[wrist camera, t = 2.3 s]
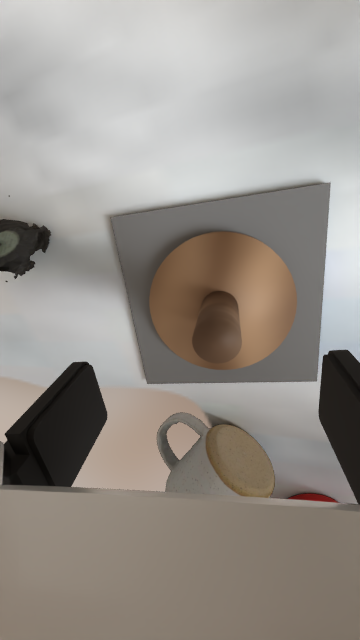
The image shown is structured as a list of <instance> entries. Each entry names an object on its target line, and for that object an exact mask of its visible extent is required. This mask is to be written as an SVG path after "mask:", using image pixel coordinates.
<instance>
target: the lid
mask: <svg viewBox="0 0 360 640" xmlns="http://www.w3.org/2000/svg"><path fill="white" fill-rule="evenodd" d="M149 306H150V313H151V317H152V321H153V324H154V326H155V329H156V331H157V333H158V334H159V336H160V338H161V339H162V340H163V342H164V343H165V344H166V345H167V346H168V347H169V348H170V350H172V351H173V352H174V353H175V354H176V355H178V356H179V357H181V358H182V359H184V360H186V361H188V362H190V363H192V364H194V365H197V366H200V367H204V368H208V369H214V370H232V369H238V368H243V367H246V366H249V365H252V364H254V363H256V362H259V361H260V360H262V359H264V358H265V357H267V356H268V355H270V354H271V353H272V352H273V351H275V350H276V349H277V348H278V347H279V346H280V345H281V343H282V342H283V341H284V339H285V338H286V336H287V335H288V333H289V331H290V329H291V327H292V324H293V322H294V319H295V315H296V308H297V293H296V288H295V283H294V280H293V278H292V275H291V273H290V271H289V269H288V267H287V266H286V264H285V263H284V262H283V260H282V259H281V258H280V257H279V256H278V255H277V254H276V253H275V252H274V251H273V250H272V249H271V248H270V247H268V246H267V245H266V244H264V243H263V242H261V241H259V240H257V239H256V238H254V237H251V236H248V235H245V234H242V233H237V232H229V231H218V232H210V233H205V234H202V235H199V236H196V237H193V238H192V239H190V240H188V241H186V242H184V243H183V244H181V245H180V246H178V247H177V248H176V249H174V250H173V251H172V252H171V253H170V254H169V255H168V256H167V257H166V258H165V260H164V261H163V262H162V263H161V265H160V267H159V268H158V270H157V272H156V274H155V276H154V279H153V282H152V285H151V289H150V297H149Z"/></svg>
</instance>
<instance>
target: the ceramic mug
mask: <svg viewBox="0 0 360 640" xmlns="http://www.w3.org/2000/svg"><path fill="white" fill-rule="evenodd" d="M178 422H182V423H184V424H187V425H188V426H189V427H191V428H192V429H193V430H195V431H196V432H197V433H198V434H199V435H200V436H201V437H200V438H199V440H198V441H197V442H196V443H195V444H194V445H193V446H192V448H191V450H189V451H188V452H187V453H186V454H185V455H184V457H183V458H182V459H181V460H178V458H177V457H176V456H175V454H174V453H173V451H172V450H171V448H170V446H169V444H168V441H167V435H166V433H167V430H168V429H169V428H170V427H171V425H173V424H177V423H178ZM157 444H158V448H159V451H160V454H161V456H162V458H163V460H164V462H165V463H166V465H167V466H168V467H169V469H170V470H171V473H170V475H169V477H168V480H167V483H166V491H165V492H176V493H194V494H212V495H228V496H245V497H261V498H270V496H271V494H272V492H273V489H274V485H275V477H274V471H273V467H272V464H271V462H270V459H269V458H268V456H267V454H266V452H265V451H264V450H263V448H262V447H261V446H260V444H259V443H258V442H257V441H256V440H255V439H254V438H253V437H252V436H251V435H249V434H248V433H246V432H245V431H243V430H242V429H240V428H238V427H235V426H232V425H227V424H220V425H216V426H214V427H213V428H208V427H207V426H206V425H205V424H204V423H203V422H202V421H201V420H200V419H198V418H196V417H195V416H192V415H191V414H188V413H176V414H173V415H172V416H170V417H169V418H168V419H167V420H166V421H165V422H164V423H163V424H162V425H161V426H160V428H159V430H158V432H157Z"/></svg>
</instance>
